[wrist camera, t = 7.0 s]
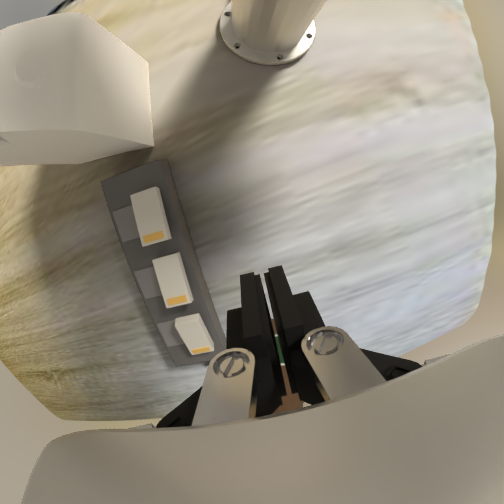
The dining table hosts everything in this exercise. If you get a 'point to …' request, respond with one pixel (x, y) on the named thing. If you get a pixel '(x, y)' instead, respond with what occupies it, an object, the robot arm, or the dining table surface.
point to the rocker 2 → (194, 334)
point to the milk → (70, 93)
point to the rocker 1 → (150, 216)
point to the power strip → (142, 257)
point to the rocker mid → (173, 280)
